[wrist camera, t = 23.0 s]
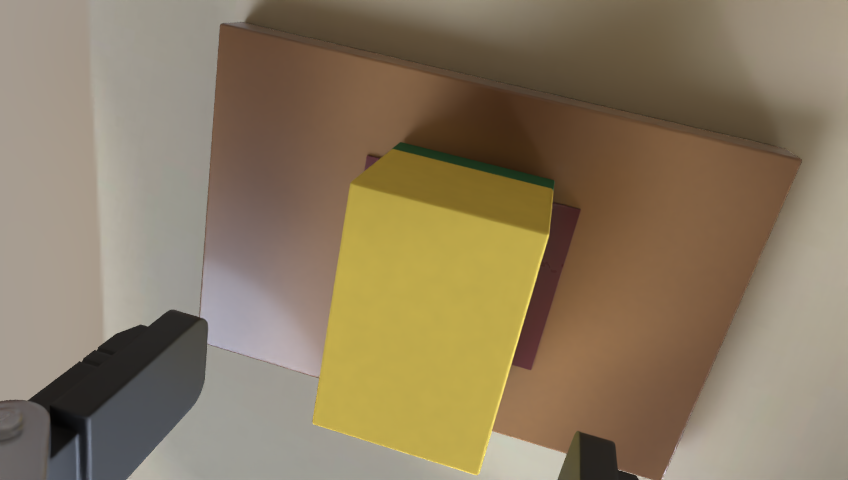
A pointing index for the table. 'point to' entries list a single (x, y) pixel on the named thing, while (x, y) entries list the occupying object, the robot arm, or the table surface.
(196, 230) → the table surface
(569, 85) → the table surface
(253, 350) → the board
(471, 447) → the sponge
